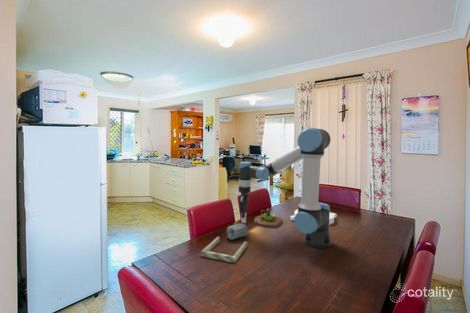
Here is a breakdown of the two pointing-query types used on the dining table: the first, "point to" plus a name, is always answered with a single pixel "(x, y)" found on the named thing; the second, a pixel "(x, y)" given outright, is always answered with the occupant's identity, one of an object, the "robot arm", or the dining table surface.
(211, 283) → the dining table surface
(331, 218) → the ring with crossbar
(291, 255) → the dining table surface
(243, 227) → the streaked grey egg
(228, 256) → the bay
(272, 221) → the plant
